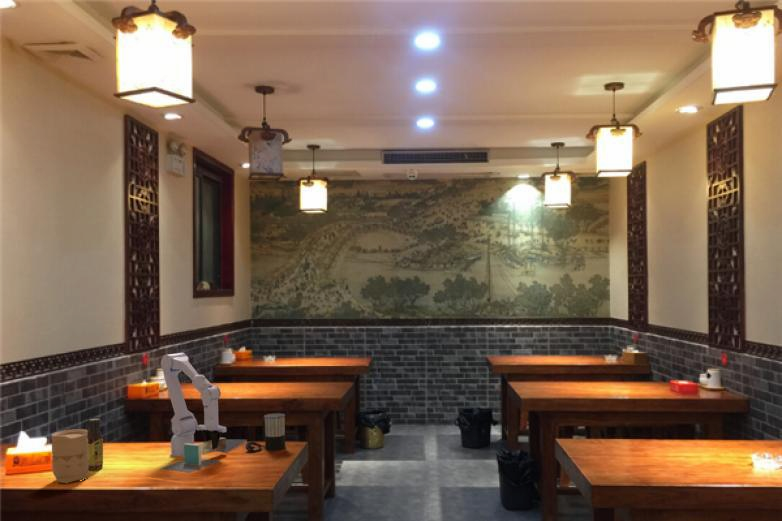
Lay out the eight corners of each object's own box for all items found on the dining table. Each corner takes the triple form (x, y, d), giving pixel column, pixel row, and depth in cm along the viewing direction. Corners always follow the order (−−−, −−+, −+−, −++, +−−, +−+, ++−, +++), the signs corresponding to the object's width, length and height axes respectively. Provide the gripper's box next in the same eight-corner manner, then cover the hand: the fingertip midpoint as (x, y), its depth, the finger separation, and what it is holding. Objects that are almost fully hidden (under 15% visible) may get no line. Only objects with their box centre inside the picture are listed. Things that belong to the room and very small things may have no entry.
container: (95, 477, 269) (94, 430, 269) (65, 486, 258) (64, 437, 259) (75, 473, 275) (74, 428, 276) (45, 482, 264) (44, 434, 265)
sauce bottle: (97, 470, 278) (95, 421, 279) (83, 470, 280) (82, 421, 280) (106, 466, 285) (105, 417, 285) (93, 466, 286) (92, 417, 287)
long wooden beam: (221, 448, 298) (221, 437, 298) (225, 448, 296) (225, 437, 297) (198, 454, 285) (198, 443, 286) (202, 454, 284) (202, 443, 284)
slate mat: (159, 470, 276) (159, 468, 276) (192, 459, 292) (192, 457, 292) (189, 474, 268) (189, 472, 268) (221, 462, 284) (221, 461, 284)
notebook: (222, 442, 324) (201, 453, 303) (222, 439, 324) (200, 450, 303) (247, 442, 321) (228, 454, 300) (247, 439, 321) (227, 450, 300)
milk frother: (290, 447, 306) (289, 414, 306) (264, 456, 293) (263, 420, 293) (267, 444, 314) (266, 411, 314) (241, 452, 301) (240, 418, 301)
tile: (186, 462, 283) (186, 443, 284) (201, 464, 280) (200, 444, 280) (184, 463, 282) (183, 444, 282) (198, 465, 278) (198, 445, 278)
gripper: (191, 416, 291) (192, 449, 291) (217, 418, 284) (218, 451, 284) (203, 413, 297) (204, 445, 297) (229, 415, 291) (230, 448, 290)
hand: (212, 448), depth 291 cm, fingers closed on long wooden beam, 2 cm apart
